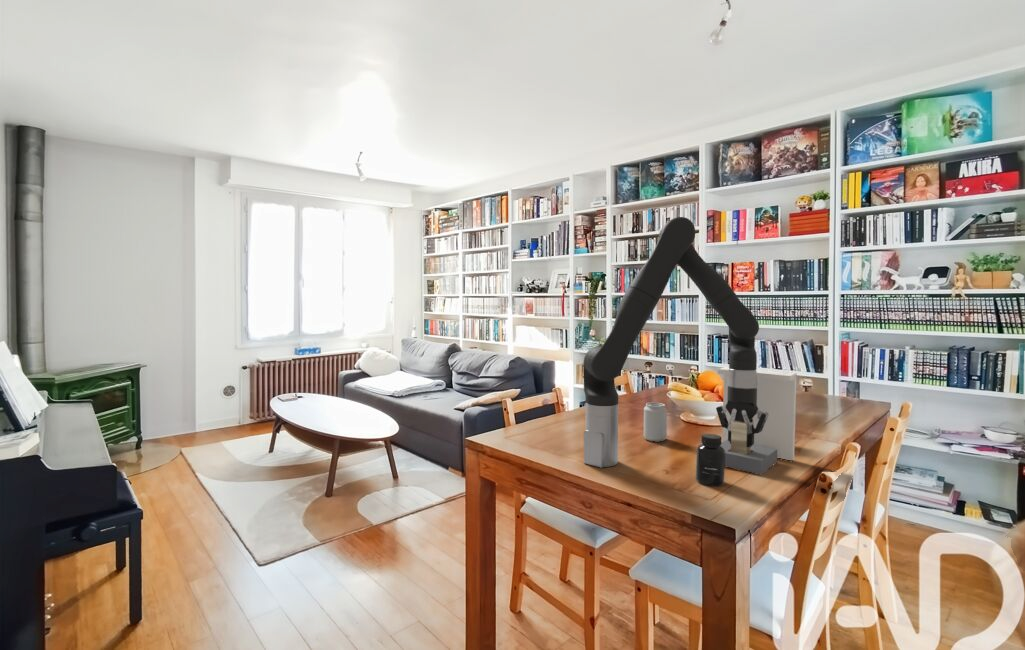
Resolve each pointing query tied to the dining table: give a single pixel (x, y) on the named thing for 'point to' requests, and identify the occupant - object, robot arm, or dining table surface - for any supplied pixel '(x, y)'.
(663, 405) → the can
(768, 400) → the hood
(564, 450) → the dining table surface
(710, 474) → the supplement bottle
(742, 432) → the peg
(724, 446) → the socket
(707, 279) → the robot arm
